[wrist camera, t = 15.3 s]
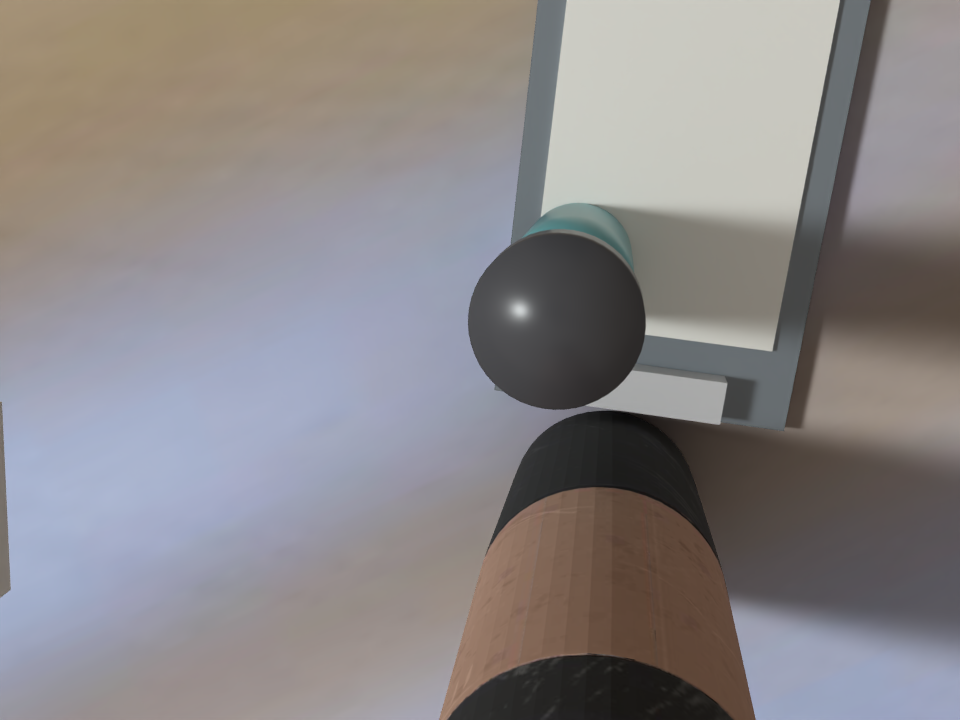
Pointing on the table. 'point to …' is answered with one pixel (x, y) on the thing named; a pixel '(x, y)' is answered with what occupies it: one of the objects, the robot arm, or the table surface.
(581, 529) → the travel mug
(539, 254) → the marker
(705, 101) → the clipboard
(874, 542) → the table surface
